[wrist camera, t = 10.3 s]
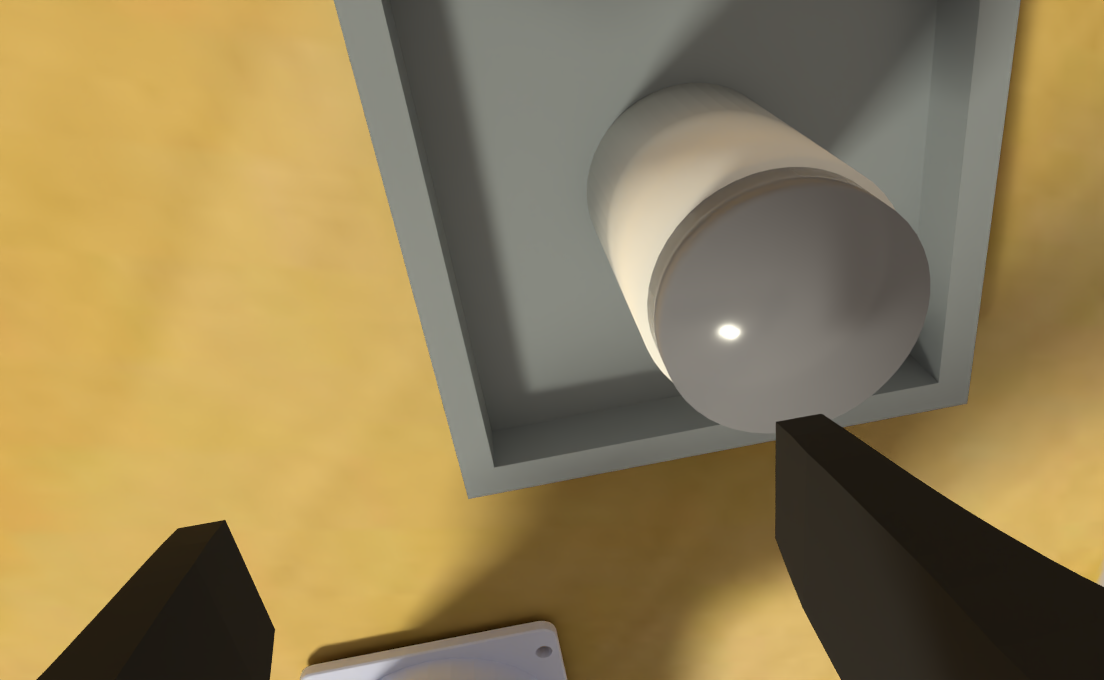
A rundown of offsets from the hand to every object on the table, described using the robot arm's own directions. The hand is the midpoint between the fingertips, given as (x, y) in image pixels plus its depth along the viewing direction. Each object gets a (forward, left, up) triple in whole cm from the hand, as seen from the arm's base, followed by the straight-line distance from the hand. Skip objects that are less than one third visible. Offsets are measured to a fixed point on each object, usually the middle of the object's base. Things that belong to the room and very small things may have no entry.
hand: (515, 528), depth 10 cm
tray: (+1, -5, -9) cm, 10 cm away
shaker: (+1, -5, -9) cm, 10 cm away
